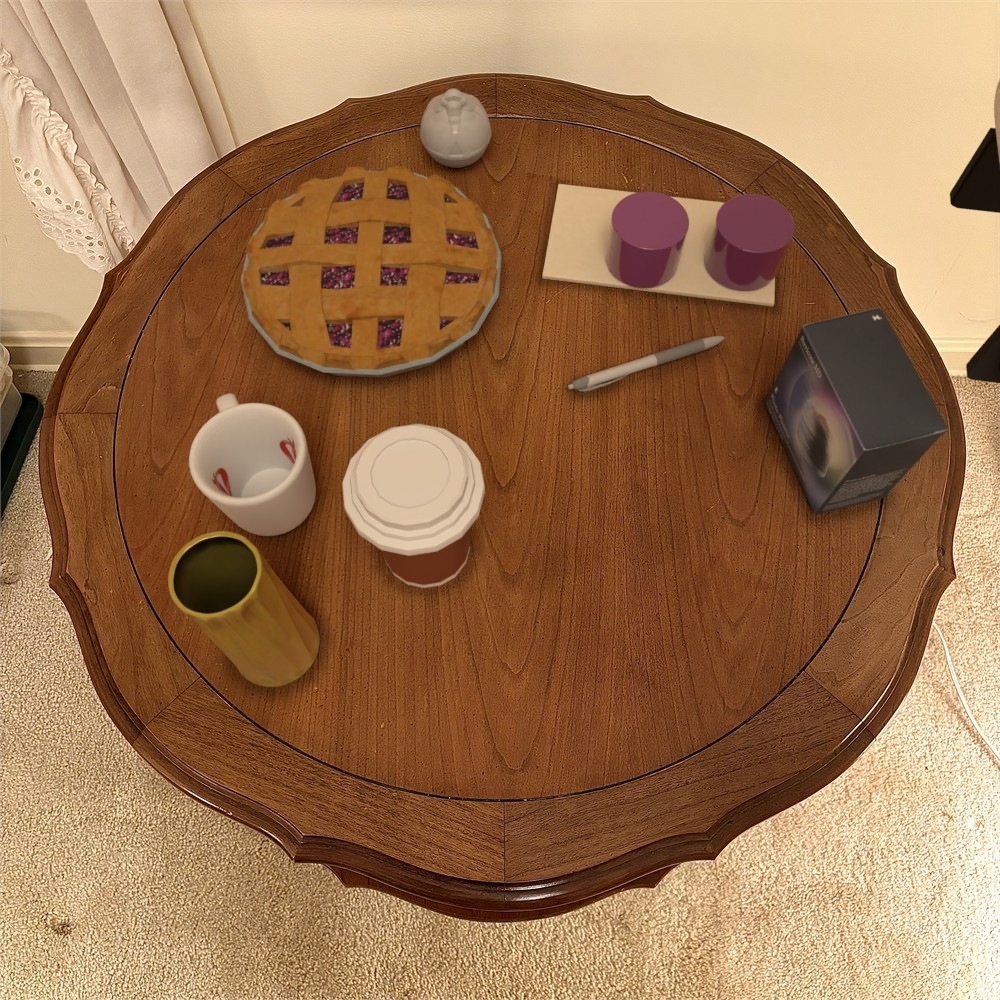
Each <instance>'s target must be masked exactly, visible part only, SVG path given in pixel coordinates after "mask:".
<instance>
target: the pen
mask: <svg viewBox="0 0 1000 1000" xmlns="http://www.w3.org/2000/svg"><path fill="white" fill-rule="evenodd" d="M724 339H725V336H721V335H714V336H713V335H712V336H708V337H707V336H706V337H704V338H698V339H695V340H693V341H688V342H685V343H683V344H679V345H676V346H673V347H670V348H667V349H664V350H661V351H659V352H654V353H651V354H649V355H647V356H643V357H641V358H637V359H634V360H630V361H627V362H625V363H622V364H619V365H615V366H612V367H609V368H606V369H603V370H600V371H596V372H594V373H589V374H586V375H584V376H581V377H579V378H576V379H574V380H573V381H571V383H570V384H568V385H567V388H568V390H574V391H579V392H590V391H593V390H597V389H600V388H602V387H606V386H608V385H611V384H613V383H615V382H618V381H621V380H622V379H624V378H625V377H627V376H629V375H631V374H634V373H636V372H640V371H644V370H646V369H649V368H654V367H657V366H660V365H663V364H666V363H670V362H673V361H676V360H679V359H683V358H685V357H686V358H687V357H689V356H691V355H694V354H698V353H701V352H704V351H705V350H708V349H711V348H713V347H715V346H717V345H719V344H720V343H721V342H723V341H724Z"/></svg>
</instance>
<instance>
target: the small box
mask: <svg viewBox="0 0 1000 1000" xmlns="http://www.w3.org/2000/svg"><path fill="white" fill-rule="evenodd" d="M763 403H764V406H765V409H766V411H767V413H768V415H769V416H770V420H771V422H772V424H773V427H774V428H775V430H776V433H777V435H778V438H779V439H780V442H781V444H782V446H783V449H784V450H785V453H786V455H787V457H788V459H789V460H788V461H789V462H790V464H791V466H792V468H793V471H794V473H795V475H796V477H797V479H798V481H799V484H800V487H801V488H802V490H803V493H804V495H805V497H806V499H807V502H808V504H809V506H810V509H811V511H812V513H813V514H814V515H818V514H819V515H820V514H824V513H828V512H832V511H836V510H841V509H844V508H849V507H853V506H857V505H861V504H866V503H870V502H873V501H878V500H882V499H885V498H887V496H889V494H890V493H891V491H892V490H894V488H895V487H896V486H897V484H899V483H900V481H902V479H903V478H904V477H905V476H906V475H907V473H908V472H909V471H911V469H912V468H913V467H914V466H915V465H916V464H917V463H918V461H920V460H921V459H922V457H923V456H924V455H925V454H926V452H928V451H929V450H930V448H931V447H932V446H933V445H934V444H935V443H936V442H937V441H938V440H940V438H941V437H943V436H944V435H945V434H946V433H947V432H948V431H949V427H948V425H947V423H946V421H945V419H944V418H943V416H942V414H941V412H940V410H939V408H938V407H937V405H936V404H935V402H934V399H933V398H932V396H931V395H930V392H929V391H928V389H927V387H926V385H925V384H924V382H923V380H922V378H921V376H920V374H919V373H918V371H917V369H916V368H915V366H914V364H913V362H912V360H911V358H910V357H909V355H908V353H907V352H906V349H905V348H904V346H903V344H902V342H901V341H900V339H899V337H898V335H897V334H896V332H895V330H894V328H893V326H892V324H891V323H890V321H889V319H888V317H887V315H886V313H885V312H884V310H883V308H881V307H873V308H871V309H866V310H862V311H859V312H853V313H849V314H845V315H841V316H835V317H832V318H828V319H823V320H818V321H814V322H811V323H807V324H806V323H805V324H803V325H802V326H801V327H800V331H799V333H798V335H797V337H796V339H795V340H794V343H793V345H792V347H791V349H790V351H789V353H788V355H787V357H786V358H785V361H784V363H783V365H782V367H781V369H780V371H779V373H778V375H777V377H776V379H775V381H774V382H773V384H772V386H771V388H770V391H769V392H768V394H767V396H766V399H765V400H764V402H763Z"/></svg>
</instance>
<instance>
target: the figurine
mask: <svg viewBox="0 0 1000 1000" xmlns="http://www.w3.org/2000/svg"><path fill="white" fill-rule="evenodd" d="M492 133H493V132H492V127H491V121H490V117H489V115H488V112H487V111H486V109H485V108H484V105H483V104H482V102H481V101H480V100H479V98H477V97H476V96H475V95H472V94H470V93H466V92H463V91H461V90H459V89H458V88H454V87H453V88H449V89H447V90H446V91H445V92H444V93H441V94H439V95H436V96H434V97H433V98H431V100H430V101H429V102H428V104H427V106H426V107H425V109H424V112H423V114H422V117H421V121H420V129H419V138H420V140H421V143H422V145H423V147H424V148H425V150H426V151H427V152H428V155H429V156H430V157H431V158H432V159H433V160H434V161H435V162H436V163H438V164H439V165H442V166H444V167H447V168H451V169H460V168H461V169H462V168H466V167H469V166H471V165H473V164H475V163H476V162H477V161H479V160H480V159H481V158H482V156H483V155H484V154H485V152H486V150H487V148H488V145H489V144H490V142H491V139H492Z"/></svg>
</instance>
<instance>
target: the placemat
mask: <svg viewBox="0 0 1000 1000" xmlns="http://www.w3.org/2000/svg"><path fill="white" fill-rule="evenodd" d="M634 193H636V192H635V191H625V190H618V189H617V190H616V189H607V188H600V187H589V186H583V185H574V184H564V183H558V185H557V189H556V196H555V201H554V206H553V213H552V219H551V224H550V229H549V236H548V241H547V247H546V252H545V257H544V264H543V268H542V269H543V270H542V275H541V279H542V280H543V279H544V280H551V281H559V282H569V283H575V284H583V285H592V286H600V287H609V288H617V289H626V290H634V291H641V292H651V293H659V294H666V295H675V296H682V297H689V298H690V297H692V298H699V299H707V300H714V301H715V300H717V301H723V302H732V303H741V304H749V305H756V306H765V307H772V308H773V307H774V306H775V298H776V297H775V296H776V295H775V292H776V291H775V290H776V289H775V288H776V277H775V278H774V279H773V280H772V281H771V282H770V283H769V284H768V285H766V286H765V287H763V288H760V289H757V290H753V291H737V290H733V289H729V288H727V287H725V286H723V285H721V284H719V283H718V282H716V281H715V280H714V279H713V278H712V277H711V276H710V274H709V273H708V271H707V269H706V266H705V262H704V256H705V252H706V249H707V245H708V242H709V239H710V236H711V232H712V229H713V226H714V223H715V219H716V216H717V213H718V211H719V209H720V207H721V206H722V205H723V204H724V203H725V202H723V201H713V200H707V199H706V200H705V199H697V198H688V197H680V196H679V197H678V196H670V197H672V198H673V199H675V200H676V201H678V202H679V203H680V204H681V205H682V206H683V207H684V209H685V210H686V212H687V215H688V218H689V229H688V232H687V236H686V240H685V243H684V247H683V251H682V255H681V258H680V262H679V266H678V269H677V271H676V273H675V275H674V276H673V277H672V278H671V279H670V280H669V281H667V282H666V283H664V284H662V285H660V286H657V287H653V288H637V287H632V286H629V285H626V284H624V283H622V282H620V281H619V280H618V279H616V278H615V277H614V276H613V275H612V274H611V272H610V271H609V269H608V267H607V264H606V250H607V243H608V237H609V231H610V224H611V218H612V213H613V210H614V208H615V206H616V205H617V204H618V203H619V202H620V201H621V200H622V199H623V198H625V197H627V196H629V195H631V194H634Z"/></svg>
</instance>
